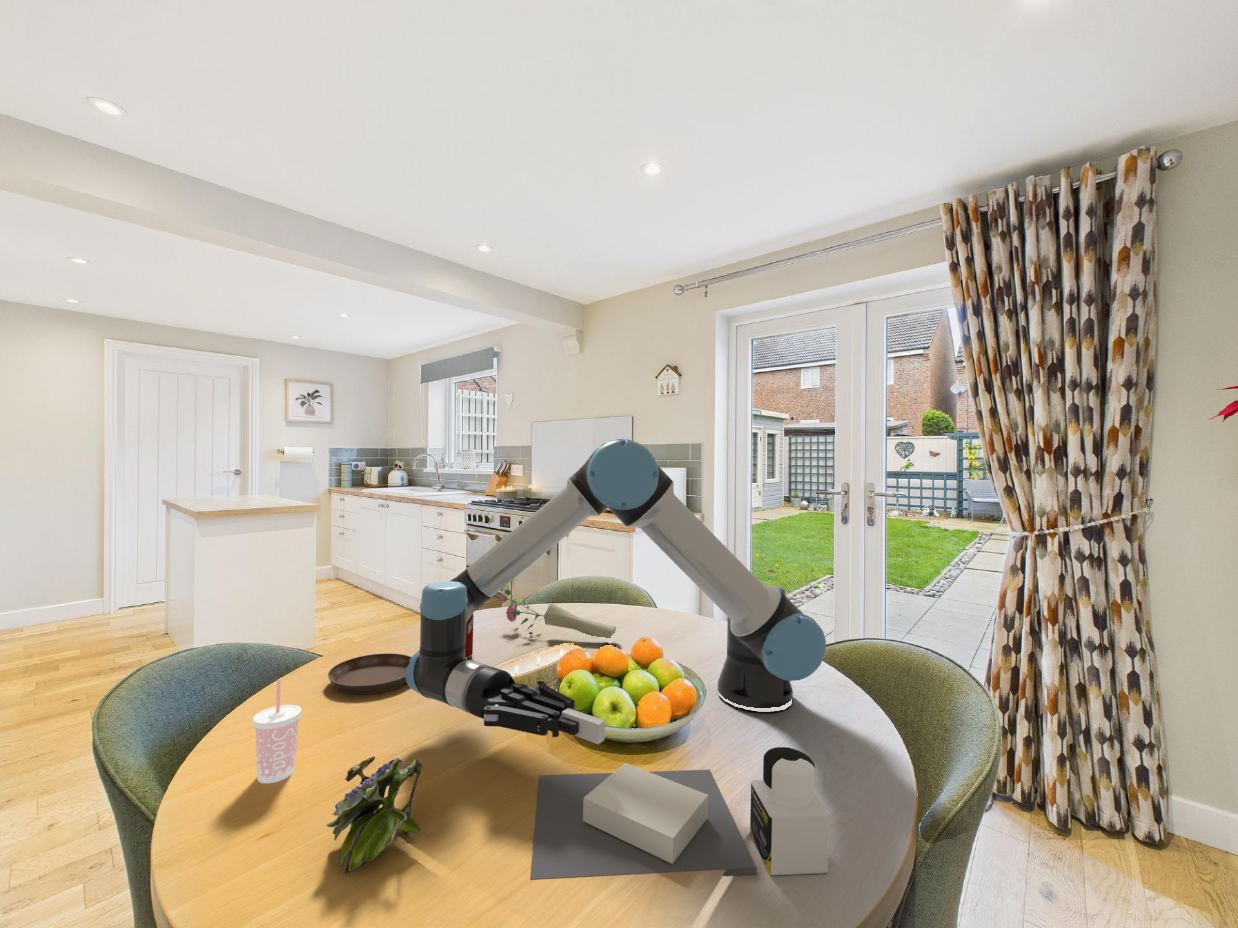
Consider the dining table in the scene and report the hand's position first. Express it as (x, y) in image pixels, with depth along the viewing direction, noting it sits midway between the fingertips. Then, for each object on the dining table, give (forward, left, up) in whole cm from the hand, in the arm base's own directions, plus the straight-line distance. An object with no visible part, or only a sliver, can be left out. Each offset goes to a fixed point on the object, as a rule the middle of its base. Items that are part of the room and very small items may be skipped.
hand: (601, 732), depth 73 cm
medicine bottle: (-22, +10, -11) cm, 27 cm away
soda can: (+31, -59, -11) cm, 67 cm away
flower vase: (+8, -74, -11) cm, 75 cm away
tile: (-1, 0, -8) cm, 8 cm away
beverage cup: (+48, -11, -11) cm, 50 cm away
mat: (-4, +3, -10) cm, 12 cm away
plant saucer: (+46, -46, -11) cm, 66 cm away
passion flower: (+28, +4, -11) cm, 30 cm away
